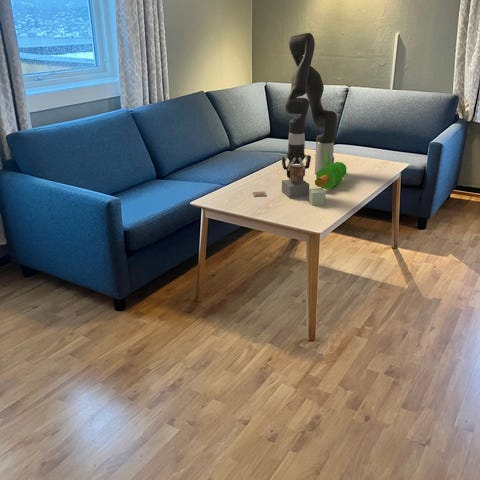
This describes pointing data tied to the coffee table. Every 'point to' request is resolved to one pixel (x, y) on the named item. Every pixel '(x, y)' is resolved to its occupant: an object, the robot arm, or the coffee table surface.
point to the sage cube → (317, 196)
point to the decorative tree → (330, 175)
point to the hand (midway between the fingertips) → (295, 177)
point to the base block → (295, 188)
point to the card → (259, 194)
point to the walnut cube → (296, 173)
